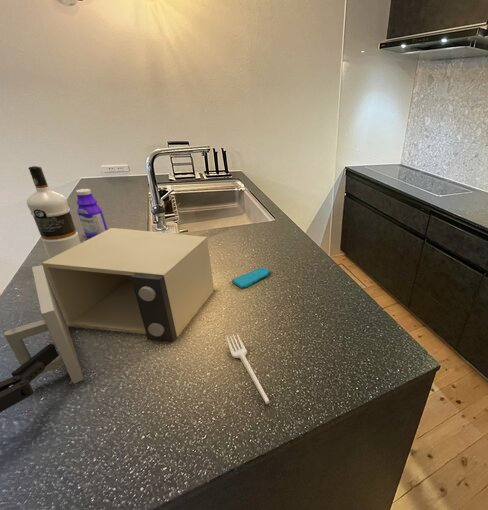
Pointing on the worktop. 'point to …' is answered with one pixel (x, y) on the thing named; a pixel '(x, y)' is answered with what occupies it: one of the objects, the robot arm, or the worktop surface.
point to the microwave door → (51, 322)
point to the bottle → (90, 213)
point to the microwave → (133, 282)
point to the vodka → (51, 216)
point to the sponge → (251, 277)
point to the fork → (246, 364)
